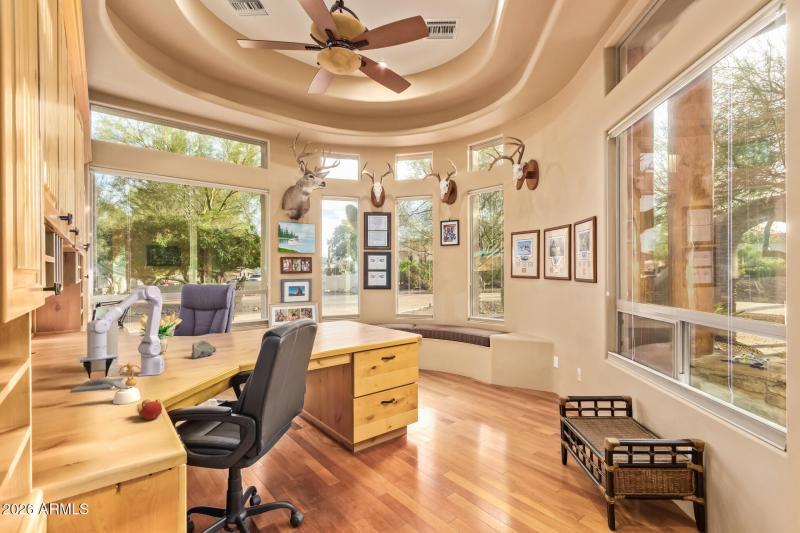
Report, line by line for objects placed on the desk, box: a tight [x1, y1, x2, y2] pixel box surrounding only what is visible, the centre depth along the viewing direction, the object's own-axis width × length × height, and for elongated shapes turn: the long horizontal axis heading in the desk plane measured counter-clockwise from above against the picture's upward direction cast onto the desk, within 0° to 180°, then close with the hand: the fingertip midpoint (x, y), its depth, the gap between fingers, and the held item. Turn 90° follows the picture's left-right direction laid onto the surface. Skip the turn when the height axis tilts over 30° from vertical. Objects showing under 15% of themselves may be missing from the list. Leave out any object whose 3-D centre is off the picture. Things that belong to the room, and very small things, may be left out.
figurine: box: [119, 360, 142, 388], centre depth 163 cm, size 8×6×12 cm
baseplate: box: [70, 377, 124, 393], centre depth 166 cm, size 14×14×1 cm
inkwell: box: [84, 377, 142, 405], centre depth 146 cm, size 9×18×10 cm, turn 115°
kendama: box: [136, 398, 163, 421], centre depth 134 cm, size 8×6×18 cm
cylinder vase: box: [86, 319, 119, 372], centre depth 196 cm, size 12×12×25 cm
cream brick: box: [108, 364, 125, 377], centre depth 185 cm, size 5×6×4 cm
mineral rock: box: [191, 339, 217, 360], centre depth 223 cm, size 13×11×10 cm
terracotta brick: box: [89, 369, 107, 381], centre depth 167 cm, size 5×6×4 cm
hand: (98, 377), depth 166 cm, fingers closed on terracotta brick, 5 cm apart
